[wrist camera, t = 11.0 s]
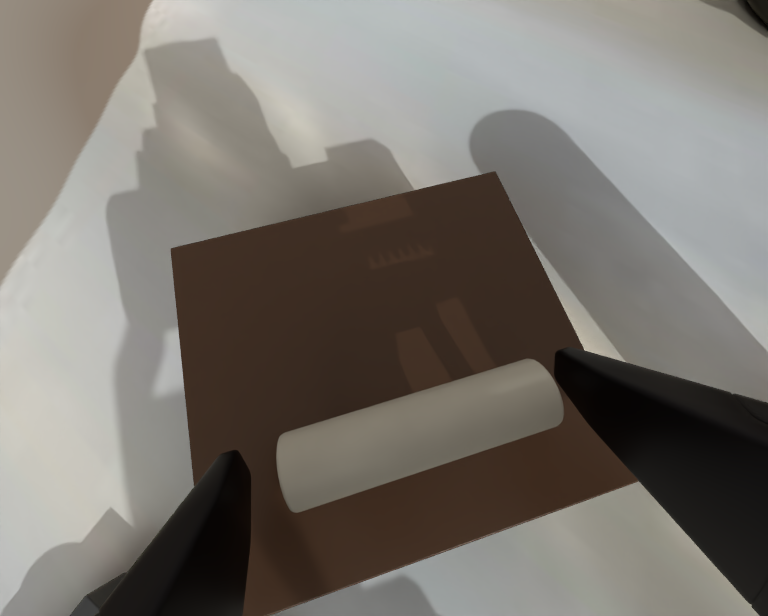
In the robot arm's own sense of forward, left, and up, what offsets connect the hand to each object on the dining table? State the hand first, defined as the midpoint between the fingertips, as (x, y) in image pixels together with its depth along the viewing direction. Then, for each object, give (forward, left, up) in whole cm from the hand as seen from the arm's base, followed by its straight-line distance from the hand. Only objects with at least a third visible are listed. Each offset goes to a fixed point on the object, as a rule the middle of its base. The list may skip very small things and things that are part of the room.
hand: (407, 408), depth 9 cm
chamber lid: (+1, +2, -3) cm, 3 cm away
